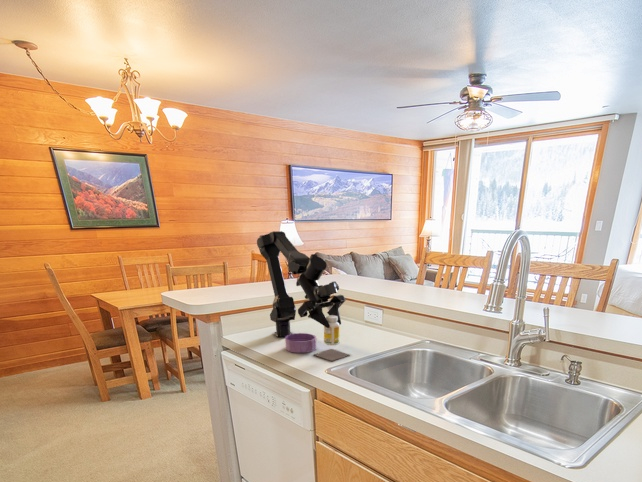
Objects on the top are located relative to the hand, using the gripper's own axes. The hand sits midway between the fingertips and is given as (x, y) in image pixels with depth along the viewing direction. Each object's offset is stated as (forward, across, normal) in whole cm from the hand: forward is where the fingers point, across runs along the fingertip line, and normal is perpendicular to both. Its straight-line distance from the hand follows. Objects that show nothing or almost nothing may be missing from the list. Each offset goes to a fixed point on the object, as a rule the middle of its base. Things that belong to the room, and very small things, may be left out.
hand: (334, 325), depth 141 cm
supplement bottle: (+4, 0, +6) cm, 7 cm away
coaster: (+7, 0, +8) cm, 11 cm away
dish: (-2, -3, +18) cm, 18 cm away
